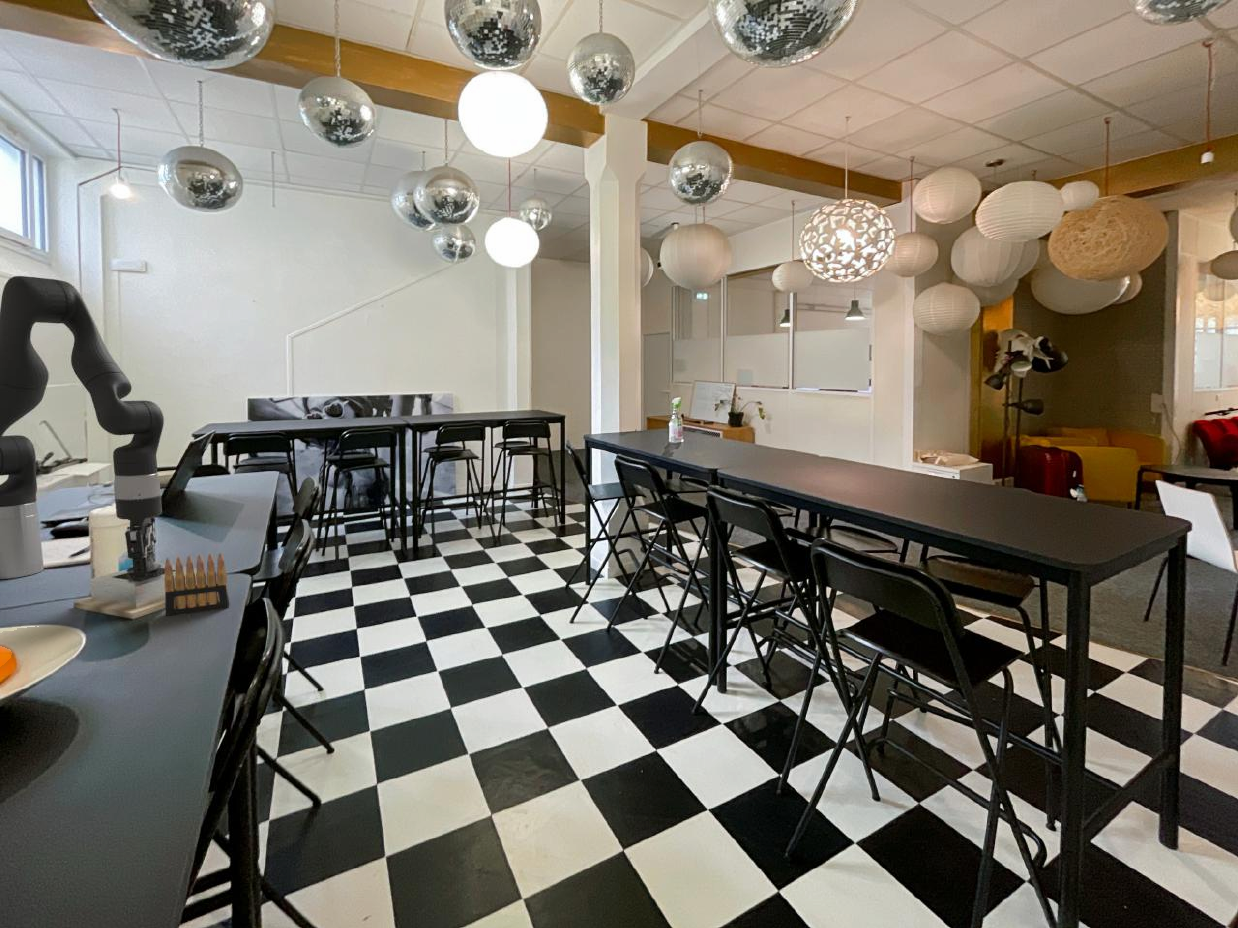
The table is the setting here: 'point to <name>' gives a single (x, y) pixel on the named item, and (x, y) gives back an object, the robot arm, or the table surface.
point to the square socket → (130, 588)
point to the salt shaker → (151, 567)
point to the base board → (119, 608)
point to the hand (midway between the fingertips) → (144, 570)
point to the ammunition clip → (195, 587)
